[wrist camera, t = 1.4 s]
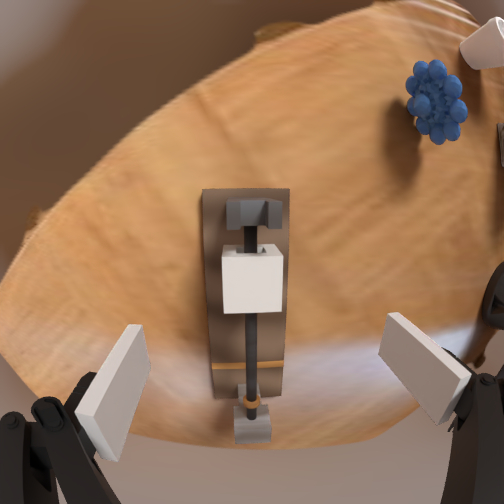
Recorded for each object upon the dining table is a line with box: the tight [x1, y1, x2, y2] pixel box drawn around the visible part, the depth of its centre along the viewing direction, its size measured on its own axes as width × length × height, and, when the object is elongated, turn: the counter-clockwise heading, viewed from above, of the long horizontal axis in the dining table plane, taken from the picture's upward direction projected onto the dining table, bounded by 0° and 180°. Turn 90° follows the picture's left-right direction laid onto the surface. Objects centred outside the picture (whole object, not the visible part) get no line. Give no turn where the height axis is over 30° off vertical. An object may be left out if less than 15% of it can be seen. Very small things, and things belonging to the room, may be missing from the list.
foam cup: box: [459, 17, 504, 70], centre depth 22 cm, size 10×9×13 cm
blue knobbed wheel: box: [406, 60, 468, 145], centre depth 25 cm, size 12×7×12 cm, turn 24°
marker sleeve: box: [222, 244, 283, 314], centre depth 25 cm, size 5×5×5 cm
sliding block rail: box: [202, 188, 290, 444], centre depth 29 cm, size 30×10×14 cm, turn 0°
